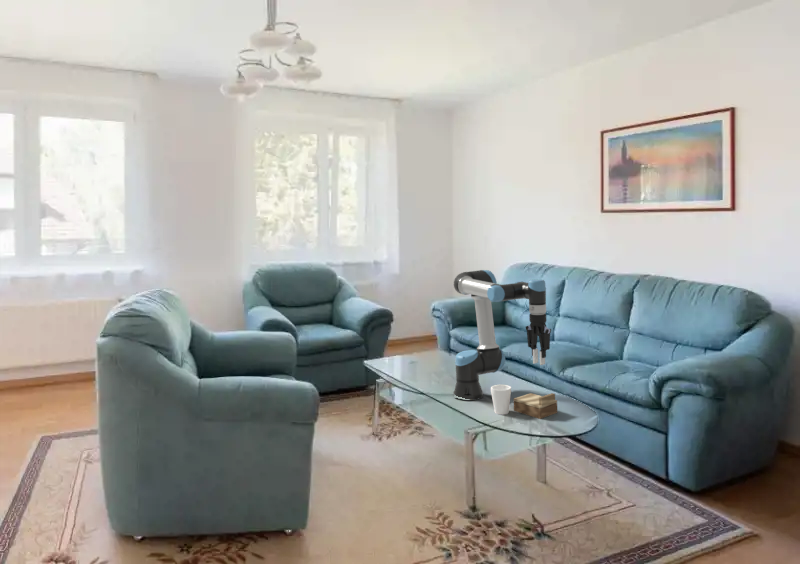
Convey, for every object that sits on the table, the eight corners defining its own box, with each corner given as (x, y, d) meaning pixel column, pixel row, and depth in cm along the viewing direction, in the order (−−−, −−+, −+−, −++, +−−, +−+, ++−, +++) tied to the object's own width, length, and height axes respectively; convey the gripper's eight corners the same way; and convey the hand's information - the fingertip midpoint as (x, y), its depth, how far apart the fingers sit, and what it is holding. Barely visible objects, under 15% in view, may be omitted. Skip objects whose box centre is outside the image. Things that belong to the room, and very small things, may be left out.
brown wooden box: (513, 412, 284) (513, 401, 284) (531, 406, 291) (530, 395, 291) (540, 421, 271) (539, 409, 271) (557, 414, 278) (557, 403, 278)
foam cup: (498, 419, 277) (497, 391, 275) (487, 413, 285) (486, 386, 284) (515, 415, 281) (515, 388, 279) (504, 409, 289) (503, 383, 287)
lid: (513, 400, 284) (513, 391, 283) (530, 395, 291) (530, 386, 290) (539, 408, 271) (539, 398, 270) (557, 402, 278) (557, 393, 277)
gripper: (518, 312, 278) (520, 362, 280) (546, 316, 264) (547, 368, 267) (529, 310, 282) (531, 359, 285) (557, 314, 269) (558, 365, 272)
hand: (539, 363), depth 276 cm, fingers open, 3 cm apart
